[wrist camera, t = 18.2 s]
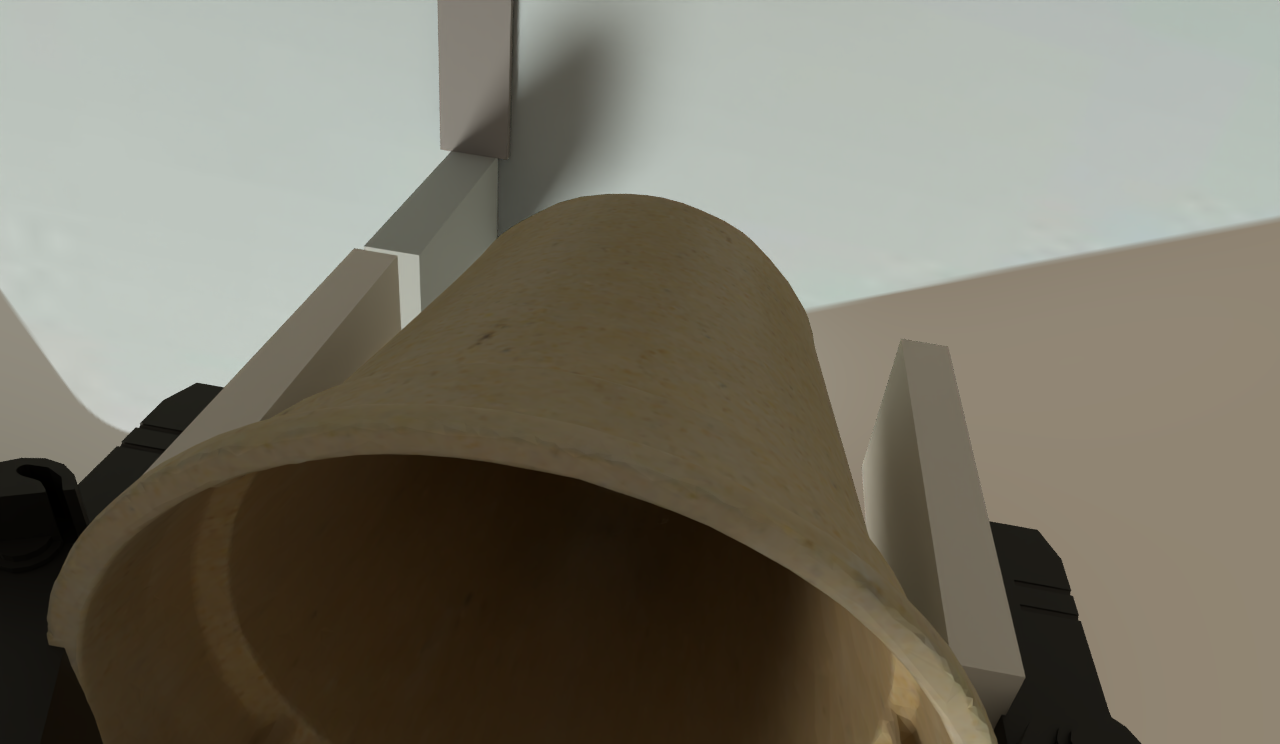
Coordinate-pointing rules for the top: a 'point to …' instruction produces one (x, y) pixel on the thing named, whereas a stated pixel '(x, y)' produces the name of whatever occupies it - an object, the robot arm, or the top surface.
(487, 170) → the wall
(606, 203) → the flower pot
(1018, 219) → the top surface
